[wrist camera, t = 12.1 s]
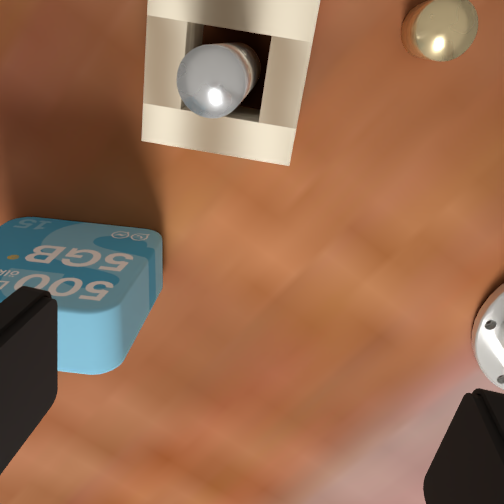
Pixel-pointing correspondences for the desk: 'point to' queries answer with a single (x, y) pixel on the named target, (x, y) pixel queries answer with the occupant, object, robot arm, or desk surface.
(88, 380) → the desk surface
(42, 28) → the desk surface
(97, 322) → the data package
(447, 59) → the short pin
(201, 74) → the tall pin
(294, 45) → the pin block
